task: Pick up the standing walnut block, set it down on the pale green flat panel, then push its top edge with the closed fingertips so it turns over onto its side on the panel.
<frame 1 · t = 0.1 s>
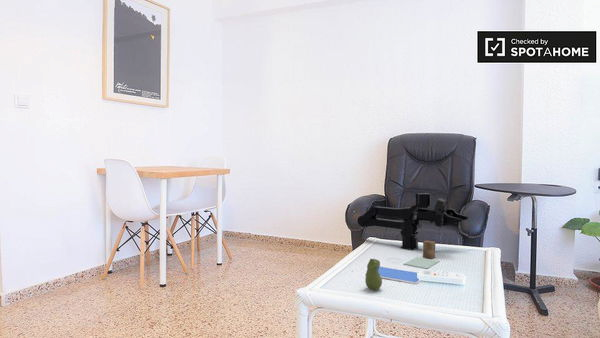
hand: (464, 219, 174), 17 cm above the table, fingers open, 9 cm apart
walnut block: (429, 257, 172), on the table
pale green flat panel: (421, 263, 163), on the table
pear: (373, 290, 130), on the table
tablet computer: (395, 277, 146), on the table
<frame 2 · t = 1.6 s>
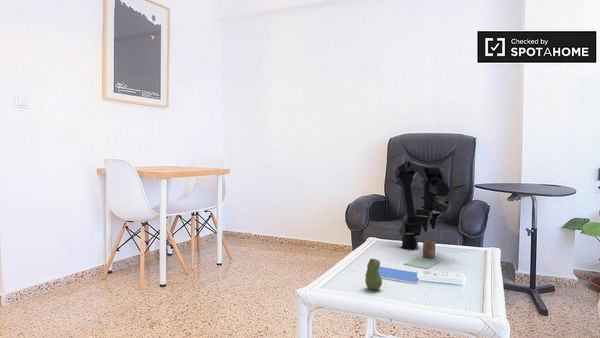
hand: (429, 230, 172), 12 cm above the table, fingers open, 9 cm apart
nothing on the table moved.
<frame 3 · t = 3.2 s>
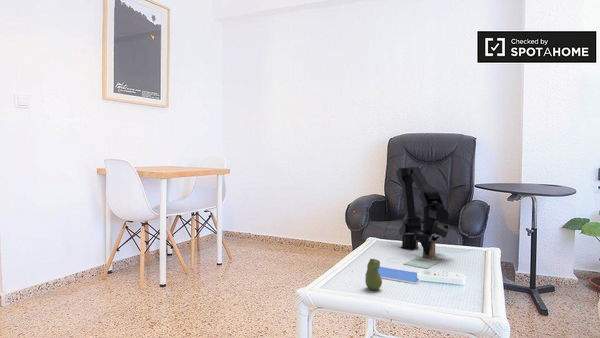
hand: (429, 254, 172), 2 cm above the table, fingers closed on walnut block, 4 cm apart
walnut block: (429, 257, 172), on the table, touching gripper
everything else where it was.
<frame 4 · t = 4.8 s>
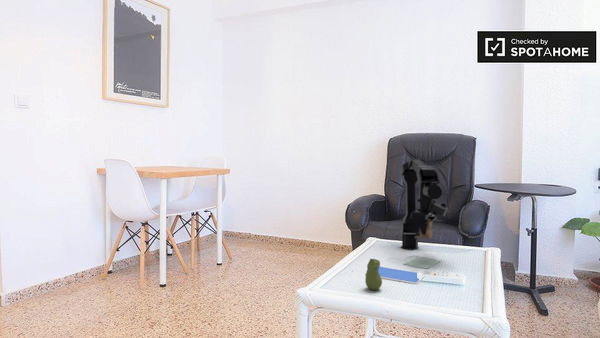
hand: (425, 233, 166), 12 cm above the table, fingers closed on walnut block, 4 cm apart
walnut block: (425, 237, 166), point 10 cm above the table, touching gripper
everything else where it was.
when the fingers open (2 cm above the table, at t = 6.7 s): walnut block stays where it is, resting on pale green flat panel.
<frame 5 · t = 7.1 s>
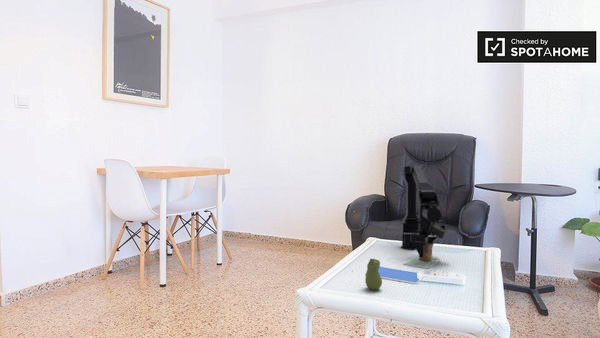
hand: (425, 255, 166), 2 cm above the table, fingers open, 9 cm apart
walnut block: (425, 260, 166), resting on pale green flat panel
everything else where it was.
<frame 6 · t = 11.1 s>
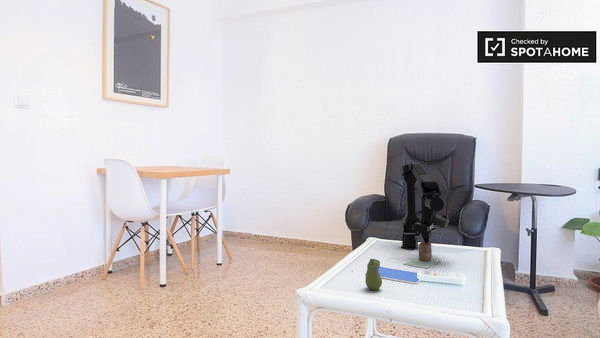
hand: (427, 245, 167), 7 cm above the table, fingers closed
walnut block: (425, 259, 166), point 1 cm above the table, tilted 8°, touching pale green flat panel, gripper
everything else where it was.
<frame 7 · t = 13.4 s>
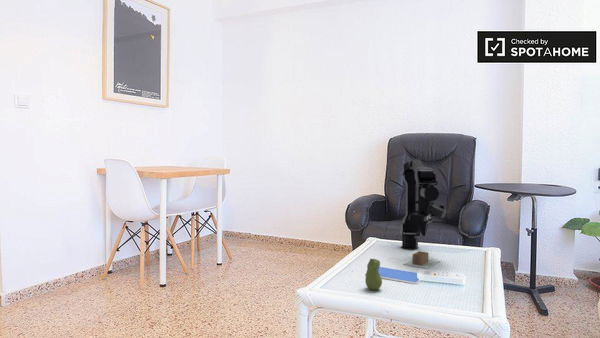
hand: (424, 235, 164), 11 cm above the table, fingers closed
walnut block: (423, 256, 165), point 2 cm above the table, tilted 90°, touching pale green flat panel
everything else where it was.
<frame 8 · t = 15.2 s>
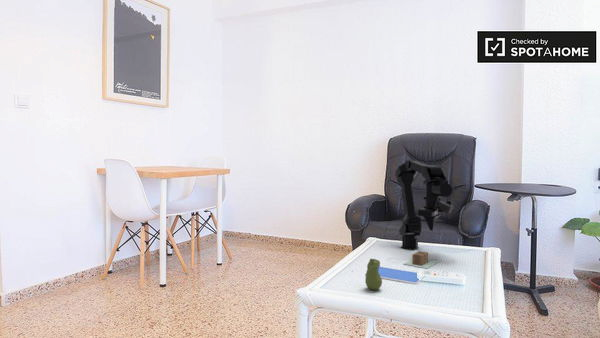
hand: (431, 230, 171), 12 cm above the table, fingers closed
nothing on the table moved.
at the end: walnut block tilted 90°; walnut block inside the target area (2.5 cm from its centre), point 2.3 cm above the table; the gripper is holding nothing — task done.
